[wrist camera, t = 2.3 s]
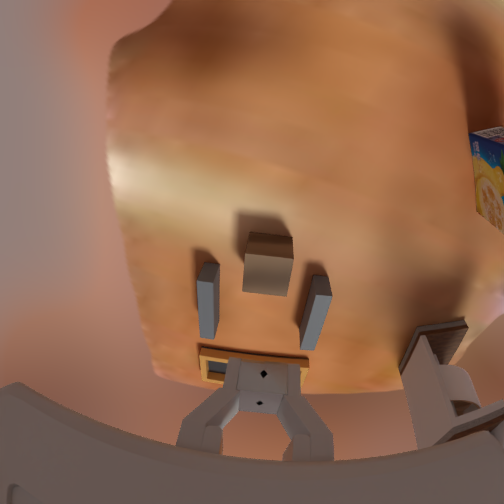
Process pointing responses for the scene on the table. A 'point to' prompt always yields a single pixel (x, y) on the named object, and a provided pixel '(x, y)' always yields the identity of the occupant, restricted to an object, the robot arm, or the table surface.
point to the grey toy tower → (444, 389)
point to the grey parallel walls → (311, 317)
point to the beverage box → (489, 174)
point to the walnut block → (268, 264)
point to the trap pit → (217, 359)
